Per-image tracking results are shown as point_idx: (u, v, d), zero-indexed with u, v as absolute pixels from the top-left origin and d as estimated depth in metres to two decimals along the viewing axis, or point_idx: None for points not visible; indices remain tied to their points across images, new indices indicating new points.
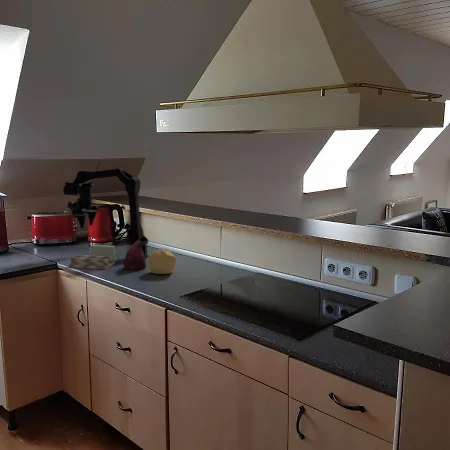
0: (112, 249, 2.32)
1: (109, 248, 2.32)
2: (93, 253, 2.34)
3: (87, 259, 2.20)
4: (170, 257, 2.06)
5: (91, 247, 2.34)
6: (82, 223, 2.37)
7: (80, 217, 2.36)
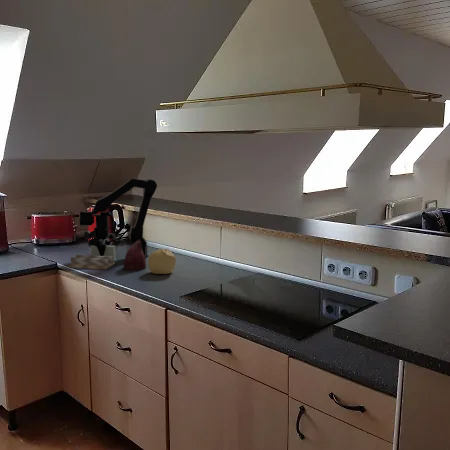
0: (112, 249, 2.32)
1: (109, 248, 2.32)
2: (93, 252, 2.34)
3: (87, 259, 2.20)
4: (170, 257, 2.06)
5: (91, 247, 2.34)
6: (102, 252, 2.32)
7: (100, 246, 2.31)
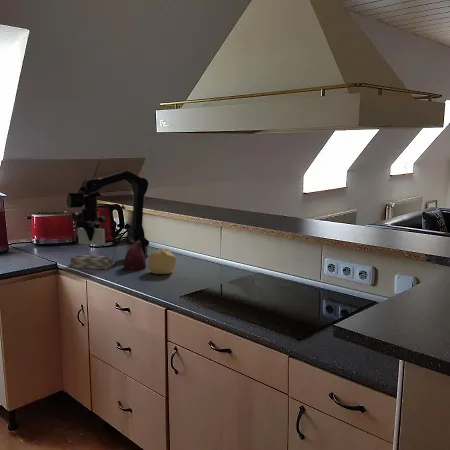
0: (101, 232, 2.20)
1: (97, 231, 2.20)
2: (81, 236, 2.22)
3: (87, 259, 2.20)
4: (170, 257, 2.06)
5: (79, 230, 2.22)
6: (90, 235, 2.20)
7: (88, 229, 2.20)
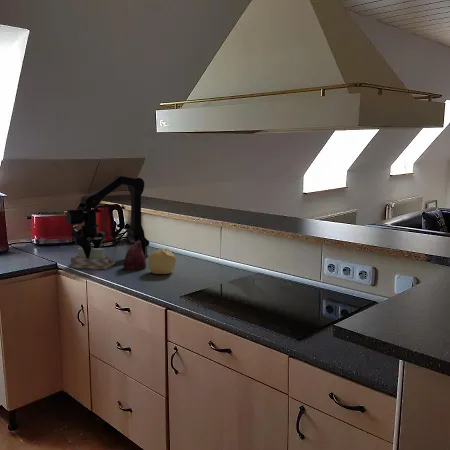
0: (101, 252, 2.20)
1: (97, 251, 2.20)
2: (81, 256, 2.22)
3: (87, 259, 2.20)
4: (170, 257, 2.06)
5: (79, 250, 2.22)
6: (87, 253, 2.17)
7: (85, 246, 2.17)
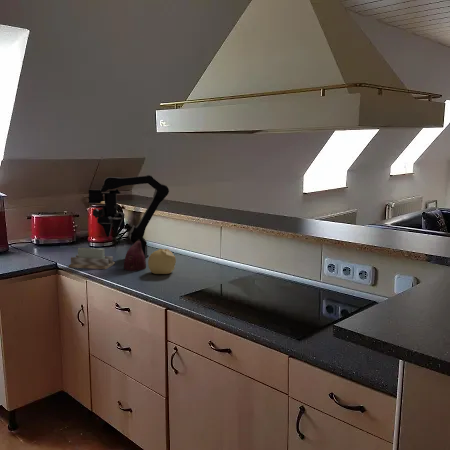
0: (101, 252, 2.20)
1: (97, 251, 2.20)
2: (81, 256, 2.22)
3: (87, 259, 2.20)
4: (170, 257, 2.06)
5: (79, 250, 2.22)
6: (108, 231, 2.28)
7: (106, 225, 2.28)
